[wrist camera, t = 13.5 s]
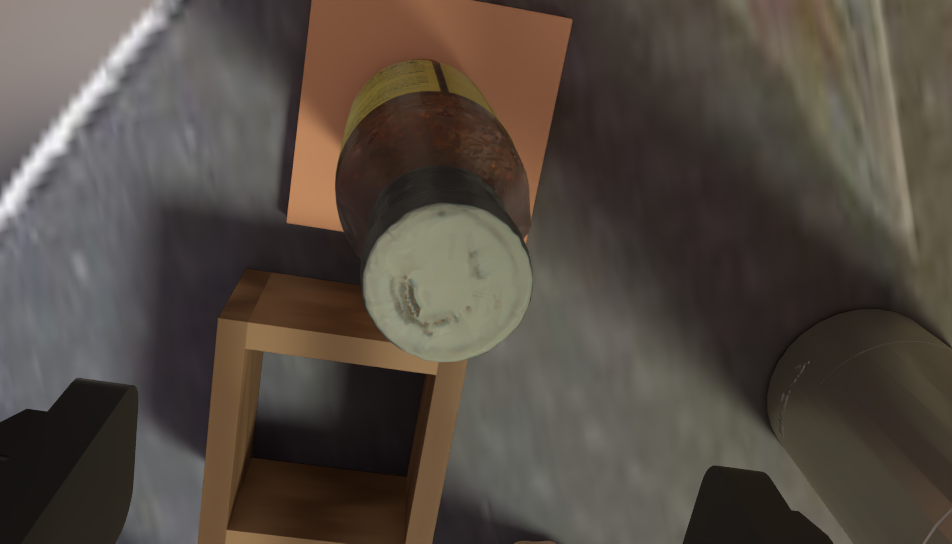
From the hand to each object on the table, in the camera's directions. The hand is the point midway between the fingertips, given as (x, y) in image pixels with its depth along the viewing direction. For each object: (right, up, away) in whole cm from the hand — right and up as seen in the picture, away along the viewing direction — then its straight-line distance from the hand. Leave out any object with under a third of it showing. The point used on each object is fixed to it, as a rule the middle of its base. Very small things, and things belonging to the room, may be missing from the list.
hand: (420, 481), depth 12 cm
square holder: (-6, -3, +31) cm, 32 cm away
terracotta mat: (-2, +10, +27) cm, 29 cm away
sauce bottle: (-2, +9, +27) cm, 28 cm away
